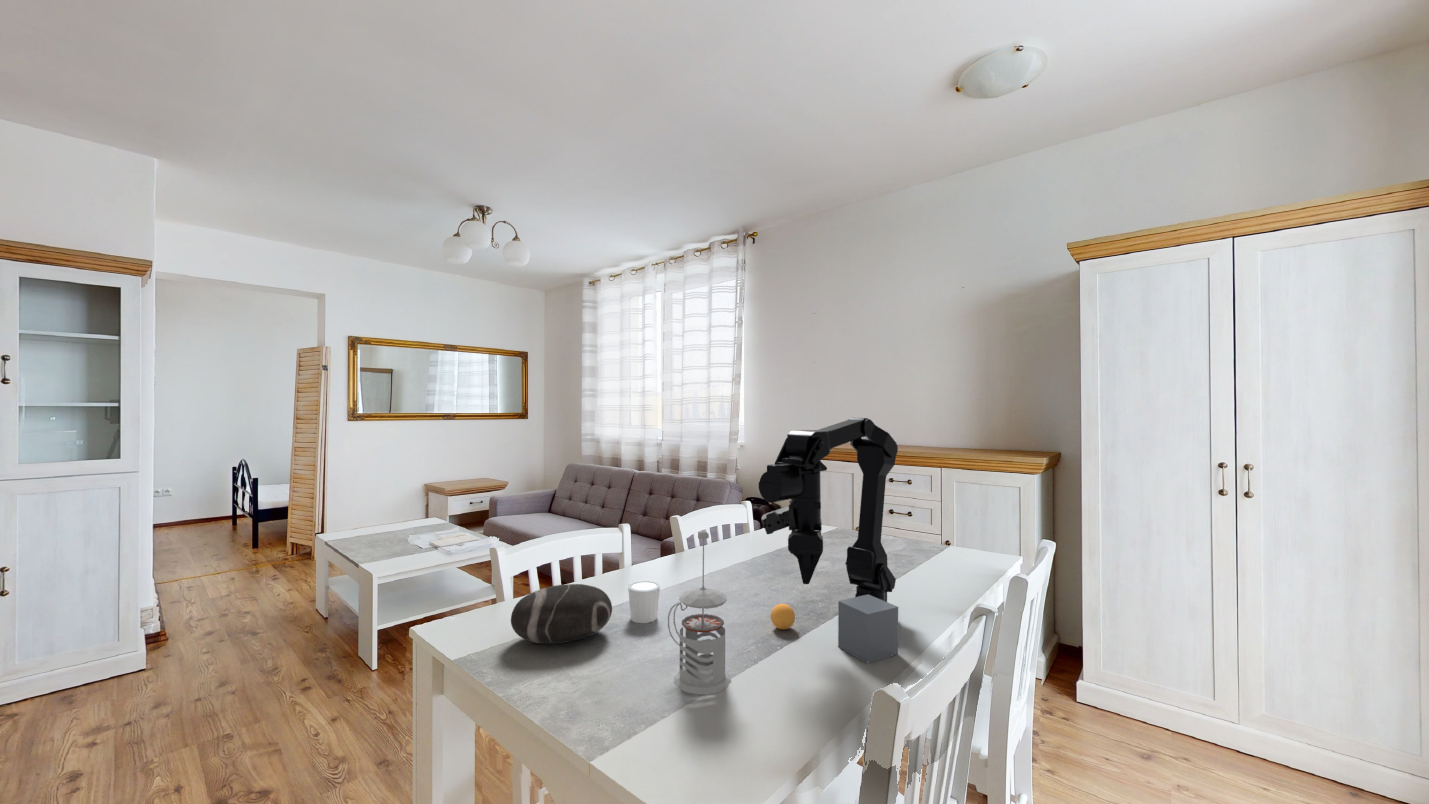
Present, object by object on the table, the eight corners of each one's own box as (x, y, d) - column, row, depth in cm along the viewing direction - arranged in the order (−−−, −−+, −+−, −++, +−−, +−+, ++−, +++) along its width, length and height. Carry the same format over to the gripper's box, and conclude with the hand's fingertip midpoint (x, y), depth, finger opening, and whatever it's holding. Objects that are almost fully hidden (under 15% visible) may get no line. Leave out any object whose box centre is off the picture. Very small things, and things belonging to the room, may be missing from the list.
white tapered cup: (654, 625, 117) (654, 592, 117) (623, 622, 118) (623, 589, 118) (663, 613, 124) (664, 581, 124) (634, 611, 125) (634, 579, 125)
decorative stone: (513, 662, 100) (513, 606, 100) (508, 632, 113) (508, 582, 113) (619, 644, 108) (620, 592, 108) (603, 618, 121) (603, 571, 121)
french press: (711, 700, 88) (712, 540, 88) (652, 680, 94) (653, 531, 94) (742, 675, 96) (743, 528, 96) (686, 658, 102) (687, 521, 102)
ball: (785, 622, 119) (785, 598, 119) (799, 630, 115) (800, 606, 115) (765, 626, 117) (766, 602, 117) (780, 635, 112) (780, 610, 112)
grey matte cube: (867, 638, 111) (868, 594, 111) (898, 654, 104) (898, 606, 104) (838, 646, 107) (838, 600, 107) (867, 663, 101) (867, 614, 101)
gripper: (767, 487, 119) (768, 560, 119) (759, 504, 101) (760, 590, 101) (820, 488, 117) (821, 562, 117) (822, 505, 99) (823, 593, 99)
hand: (806, 576), depth 109 cm, fingers open, 9 cm apart
